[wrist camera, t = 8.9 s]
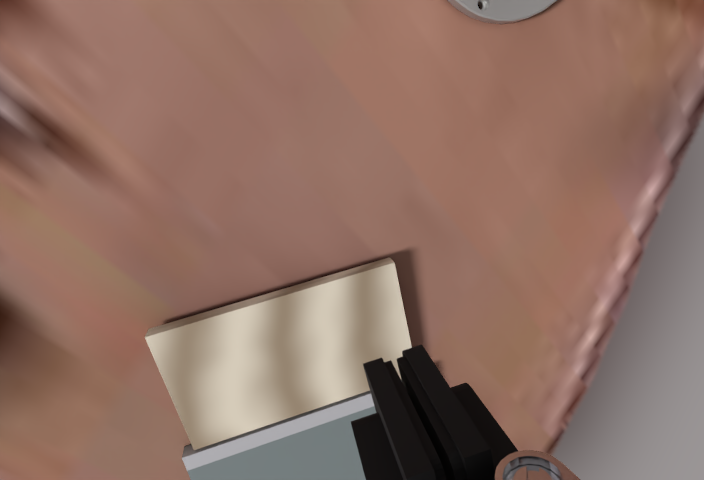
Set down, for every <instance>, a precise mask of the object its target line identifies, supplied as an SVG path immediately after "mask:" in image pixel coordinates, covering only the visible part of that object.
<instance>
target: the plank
mask: <svg viewBox="0 0 704 480" xmlns="http://www.w3.org/2000/svg"><path fill="white" fill-rule="evenodd" d="M145 339H146V341H147V343H148V346H149V348H150V350H151V353H152V355H153V357H154V359H155V362H156V364H157V366H158V369H159V371H160V373H161V376H162V378H163V380H164V382H165V385H166V387H167V389H168V392H169V394H170V396H171V399H172V401H173V403H174V405H175V408H176V410H177V412H178V415H179V417H180V419H181V422H182V424H183V426H184V428H185V431H186V433H187V435H188V438H189V440H190V442H191V445H192V447H193V449H194V450H196V449H199V448H202V447H205V446H208V445H211V444H214V443H217V442H220V441H223V440H226V439H229V438H232V437H235V436H238V435H240V434H243V433H246V432H249V431H252V430H255V429H258V428H261V427H264V426H267V425H270V424H273V423H276V422H279V421H282V420H284V419H287V418H290V417H293V416H296V415H299V414H302V413H305V412H308V411H311V410H314V409H317V408H320V407H323V406H326V405H328V404H331V403H334V402H337V401H340V400H343V399H346V398H349V397H352V396H355V395H358V394H361V393H364V392H367V391H370V388H369V385H368V381H367V378H366V374H365V370H364V367H363V363H366V362H369V361H373V360H376V359H379V358H382V359H383V361H384V362H387V361H390V360H391V361H392V363H393V365H394V367H395V369H396V371H397V373H398V375H399V377H400V379H401V376H400V372H399V368H398V364H397V358H399V357H402V356H403V355H402V351H403V350H406V349H409V348H412V346H411V341H410V336H409V331H408V326H407V321H406V316H405V312H404V307H403V302H402V297H401V292H400V287H399V282H398V277H397V272H396V267H395V262H394V261H393V260H392V259H391V258H390V257H389V258H386V259H382V260H379V261H376V262H372V263H369V264H365V265H362V266H359V267H355V268H352V269H349V270H345V271H342V272H339V273H335V274H332V275H328V276H325V277H322V278H318V279H315V280H312V281H308V282H305V283H302V284H298V285H295V286H291V287H288V288H285V289H281V290H278V291H275V292H271V293H268V294H265V295H261V296H258V297H254V298H251V299H248V300H244V301H241V302H238V303H234V304H231V305H228V306H224V307H221V308H217V309H214V310H211V311H207V312H204V313H201V314H197V315H194V316H191V317H187V318H184V319H181V320H177V321H174V322H170V323H167V324H164V325H160V326H157V327H154V328H150V329H148V331H147V334H146V336H145Z"/></svg>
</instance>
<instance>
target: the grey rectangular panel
mask: <svg viewBox="0 0 704 480" xmlns="http://www.w3.org/2000/svg"><path fill="white" fill-rule="evenodd" d="M401 381H402V380H401ZM374 413H376V410H375V406H374V403H373V399H372V395H371V392H370V391H367V392H364V393H361V394H358V395H355V396H352V397H349V398H346V399H343V400H340V401H337V402H334V403H331V404H328V405H326V406H323V407H320V408H317V409H314V410H311V411H308V412H305V413H302V414H299V415H296V416H293V417H290V418H287V419H284V420H282V421H279V422H276V423H273V424H270V425H267V426H264V427H261V428H258V429H255V430H252V431H249V432H246V433H243V434H240V435H238V436H235V437H232V438H229V439H226V440H223V441H220V442H217V443H214V444H211V445H208V446H205V447H202V448H199V449H196V450H194V449H193V447H192V445H191V444H190V445H187V446H185V447H184V451H183V456H182V459H183V462H184V464H185V467H186V469H187V471H188V474H189V476H190V479H191V480H366V479H365V475H364V471H363V467H362V463H361V460H360V456H359V452H358V448H357V444H356V441H355V437H354V433H353V429H352V425H351V421H354V420H357V419H360V418H363V417H366V416H369V415H371V414H374Z"/></svg>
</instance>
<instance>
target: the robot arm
mask: <svg viewBox="0 0 704 480" xmlns="http://www.w3.org/2000/svg"><path fill="white" fill-rule="evenodd" d="M447 1H449V2H450V3H451V4H452V5H453V6H454V7H455V8H456V9H458V10H459V11H461V12H462V13H464V14H466V15H467V16H469V17H471V18H474V19H477V20H480V21H482V22H486V23H495V24H506V23H514V22H518V21H521V20H524V19H526V18H529V17H531V16H533V15H536V14H538V13H540V12H542V11H544V10H545V9H546V8H548V7H549V6H550V5H552V4H553V3H554V2H556V1H557V0H447ZM478 4H479V5H480V9H479V7H478ZM402 355H403V356H402V357H399V358H397V364H398V368H399V372H400V376H401V379H400V377H399V375H398V373H397V371H396V369H395V367H394V365H393V363H392V361H391V360H390V361H387V362H384V361H383V359H382V358H379V359H376V360H373V361H369V362H366V363H363V367H364V370H365V374H366V378H367V381H368V385H369V388H370V392H371V395H372V399H373V403H374V406H375V410H376V413H374V414H371V415H369V416H366V417H363V418H360V419H357V420H354V421H351V425H352V429H353V433H354V437H355V441H356V444H357V448H358V452H359V456H360V460H361V463H362V467H363V471H364V475H365V479H366V480H580V479H579V478H578V477H577V476H576V475H575V474H574V473H572V472H571V471H570V470H569V469H568V468H567V467H566V466H565V465H564V464H563V463H561V462H560V461H558V460H557V459H556V458H554V457H553V456H551V455H548V454H546V453H543V452H540V451H533V450H523V451H518V450H517V449H516V447H515V446H514V445H513V443H512V442H511V441H510V439H509V438H508V436H507V435H506V434H505V432H504V431H503V430H502V428H501V427H500V426H499V424H498V423H497V422H496V420H495V419H494V418H493V416H492V415H491V413H490V412H489V411H488V409H487V408H486V407H485V405H484V404H483V403H482V401H481V400H480V399H479V397H478V396H477V395H476V393H475V392H474V390H473V389H472V388H471V387H470V385H469V384H467V383H463V384H460V385H457V386H454V387H451V388H450V387H449V385H448V384H447V382H446V381H445V379H444V378H443V376H442V375H441V373H440V372H439V370H438V368H437V367H436V365H435V364H434V362H433V361H432V359H431V358H430V356H429V355H428V353H427V352H426V350H425V349H424V347H423V346H422V345H419V346H416V347H413V348H409V349H406V350H403V351H402ZM401 380H402V381H401Z"/></svg>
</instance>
